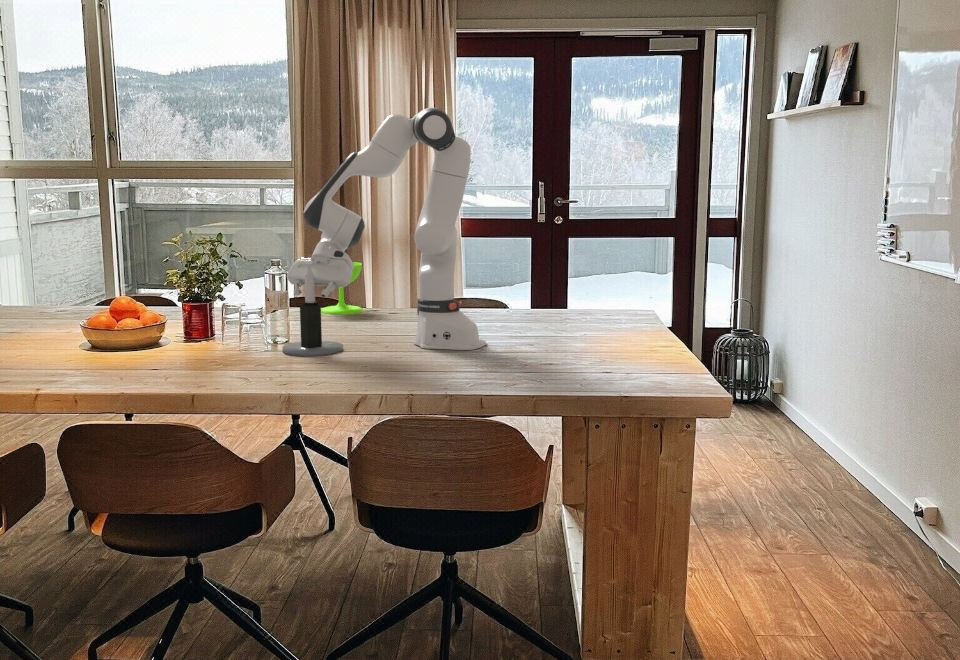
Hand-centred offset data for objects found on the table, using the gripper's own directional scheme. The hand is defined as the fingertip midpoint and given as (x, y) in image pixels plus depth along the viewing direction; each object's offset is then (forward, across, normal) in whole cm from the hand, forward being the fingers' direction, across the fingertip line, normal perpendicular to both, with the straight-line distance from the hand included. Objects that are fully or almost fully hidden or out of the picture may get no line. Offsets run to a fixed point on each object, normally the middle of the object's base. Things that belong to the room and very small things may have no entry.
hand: (310, 295), depth 275 cm
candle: (+11, 0, +12) cm, 16 cm away
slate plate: (+12, 0, +12) cm, 17 cm away
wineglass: (-37, -30, +61) cm, 78 cm away
